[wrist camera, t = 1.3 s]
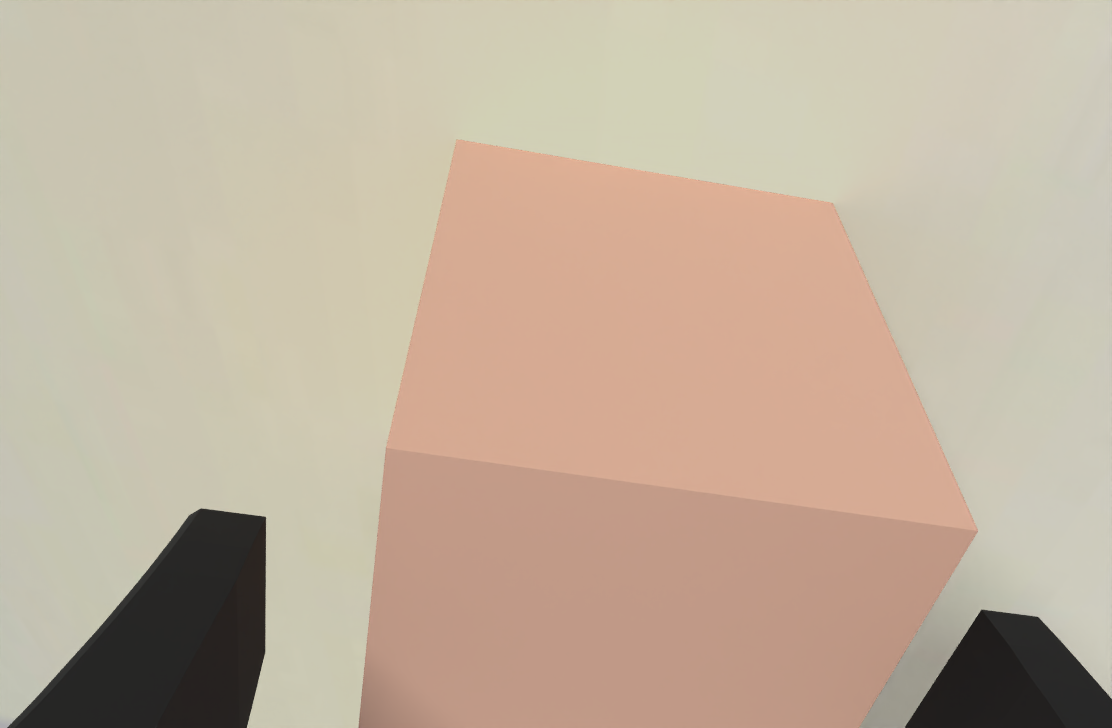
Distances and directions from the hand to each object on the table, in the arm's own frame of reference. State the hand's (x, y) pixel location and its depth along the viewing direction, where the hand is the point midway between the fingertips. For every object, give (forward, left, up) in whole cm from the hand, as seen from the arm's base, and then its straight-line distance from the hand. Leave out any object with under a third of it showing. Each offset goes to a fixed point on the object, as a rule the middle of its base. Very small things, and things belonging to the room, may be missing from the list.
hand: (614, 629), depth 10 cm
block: (0, 0, -5) cm, 5 cm away
